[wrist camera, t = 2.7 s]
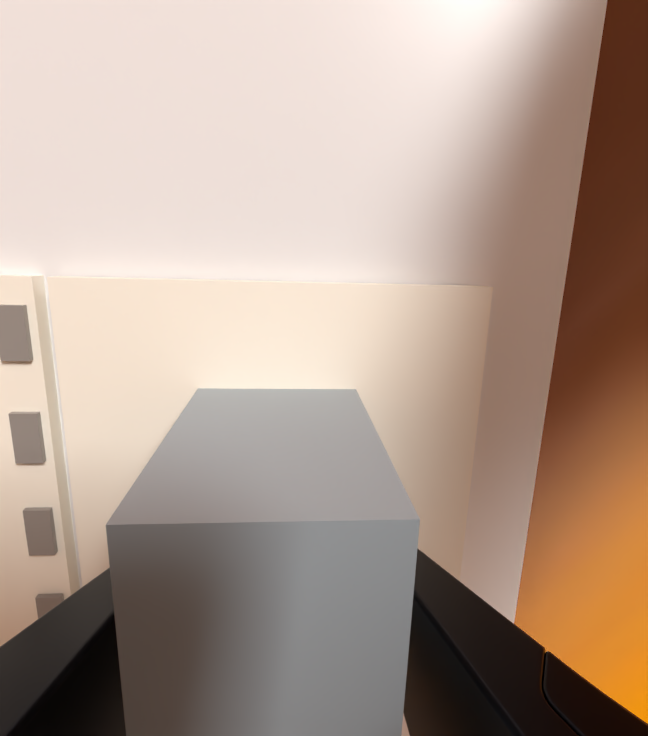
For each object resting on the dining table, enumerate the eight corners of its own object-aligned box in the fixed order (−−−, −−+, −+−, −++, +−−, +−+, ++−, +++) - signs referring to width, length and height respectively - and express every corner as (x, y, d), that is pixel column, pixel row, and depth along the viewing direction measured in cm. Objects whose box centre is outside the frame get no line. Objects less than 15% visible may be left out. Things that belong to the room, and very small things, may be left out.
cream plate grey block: (484, 285, 9) (700, 322, 4) (439, 695, 11) (546, 1010, 7) (57, 276, 8) (-244, 304, 4) (105, 711, 11) (-39, 1070, 6)
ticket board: (559, 36, 9) (683, -65, 6) (462, 773, 14) (509, 912, 11) (-688, -48, 8) (-1303, -237, 5) (-322, 822, 13) (-514, 1000, 10)
